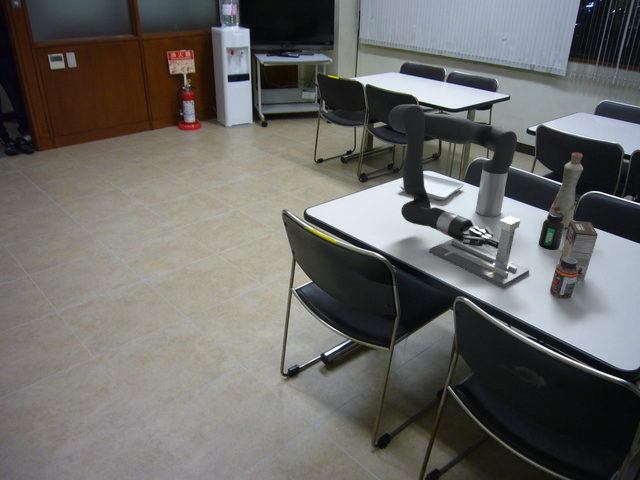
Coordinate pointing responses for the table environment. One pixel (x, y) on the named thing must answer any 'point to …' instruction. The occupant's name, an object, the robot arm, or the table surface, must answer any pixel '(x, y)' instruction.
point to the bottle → (568, 189)
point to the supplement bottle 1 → (552, 231)
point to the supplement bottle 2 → (564, 278)
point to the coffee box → (579, 245)
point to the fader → (505, 241)
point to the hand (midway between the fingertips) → (500, 245)
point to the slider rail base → (478, 262)
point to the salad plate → (439, 187)
